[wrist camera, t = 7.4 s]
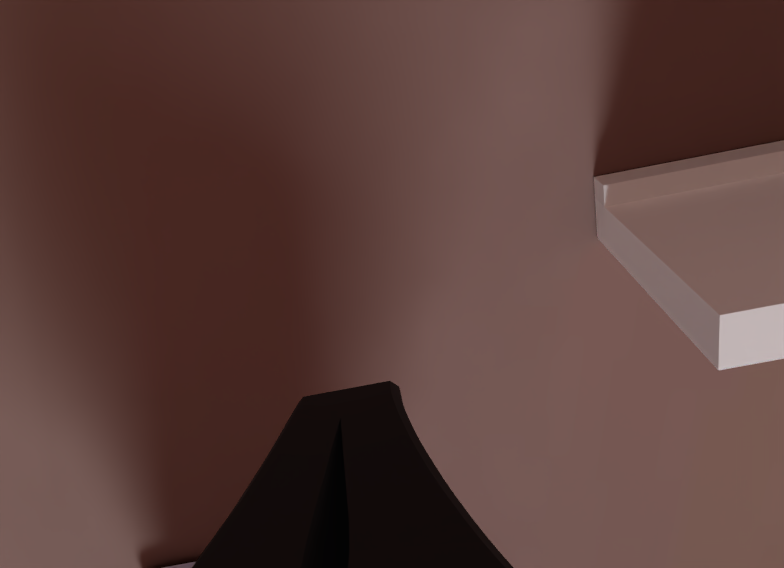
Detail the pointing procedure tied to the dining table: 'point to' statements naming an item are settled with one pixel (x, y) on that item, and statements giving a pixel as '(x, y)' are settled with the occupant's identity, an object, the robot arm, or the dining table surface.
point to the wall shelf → (706, 246)
